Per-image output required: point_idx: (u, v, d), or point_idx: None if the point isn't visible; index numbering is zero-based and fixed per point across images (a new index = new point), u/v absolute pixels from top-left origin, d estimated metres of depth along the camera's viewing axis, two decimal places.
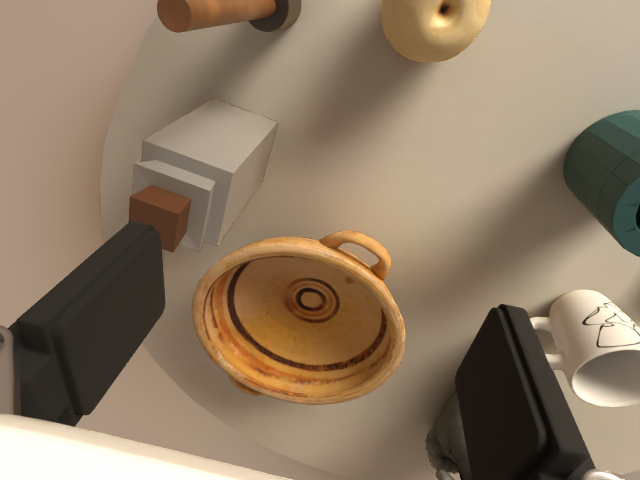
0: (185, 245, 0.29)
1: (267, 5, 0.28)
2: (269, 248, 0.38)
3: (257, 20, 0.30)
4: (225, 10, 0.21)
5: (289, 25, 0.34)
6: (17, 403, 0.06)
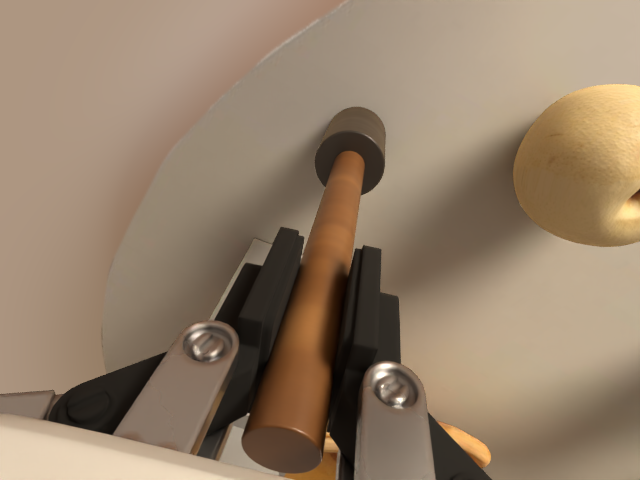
0: None
1: (361, 184, 0.18)
2: (330, 445, 0.28)
3: None
4: None
5: None
6: (211, 414, 0.07)
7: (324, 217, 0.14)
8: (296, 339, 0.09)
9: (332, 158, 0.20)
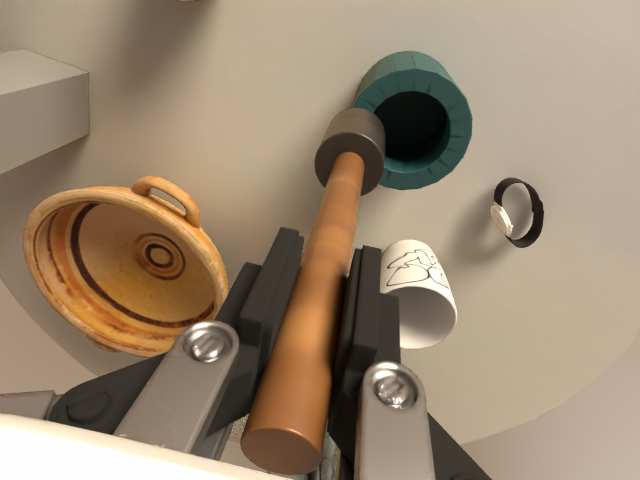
0: None
1: (361, 185, 0.18)
2: (73, 193, 0.39)
3: None
4: None
5: None
6: (211, 414, 0.07)
7: (324, 218, 0.14)
8: (296, 341, 0.09)
9: (332, 160, 0.20)
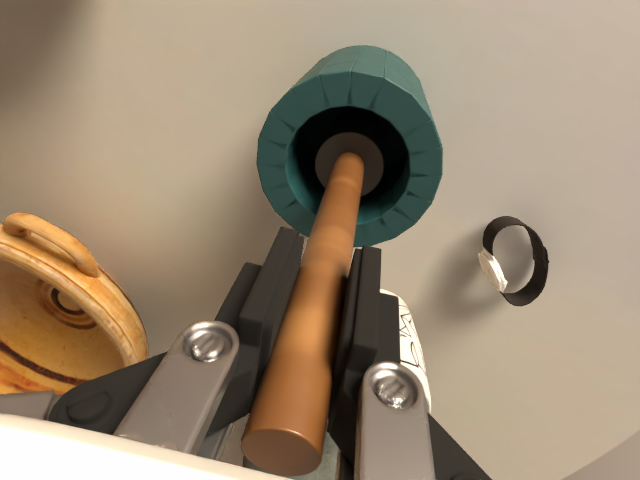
0: None
1: (361, 185, 0.18)
2: None
3: None
4: None
5: None
6: (211, 414, 0.07)
7: (324, 219, 0.14)
8: (296, 342, 0.09)
9: (332, 160, 0.20)
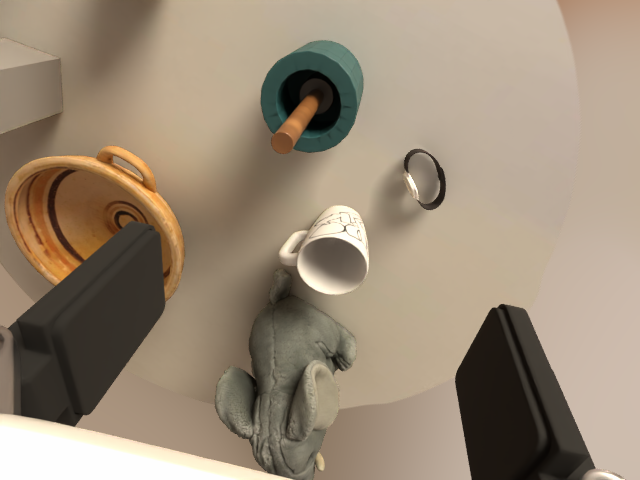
0: None
1: (320, 101, 0.38)
2: (46, 160, 0.46)
3: None
4: (304, 127, 0.31)
5: None
6: (17, 403, 0.06)
7: (299, 105, 0.34)
8: (287, 123, 0.29)
9: (307, 93, 0.40)
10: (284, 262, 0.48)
